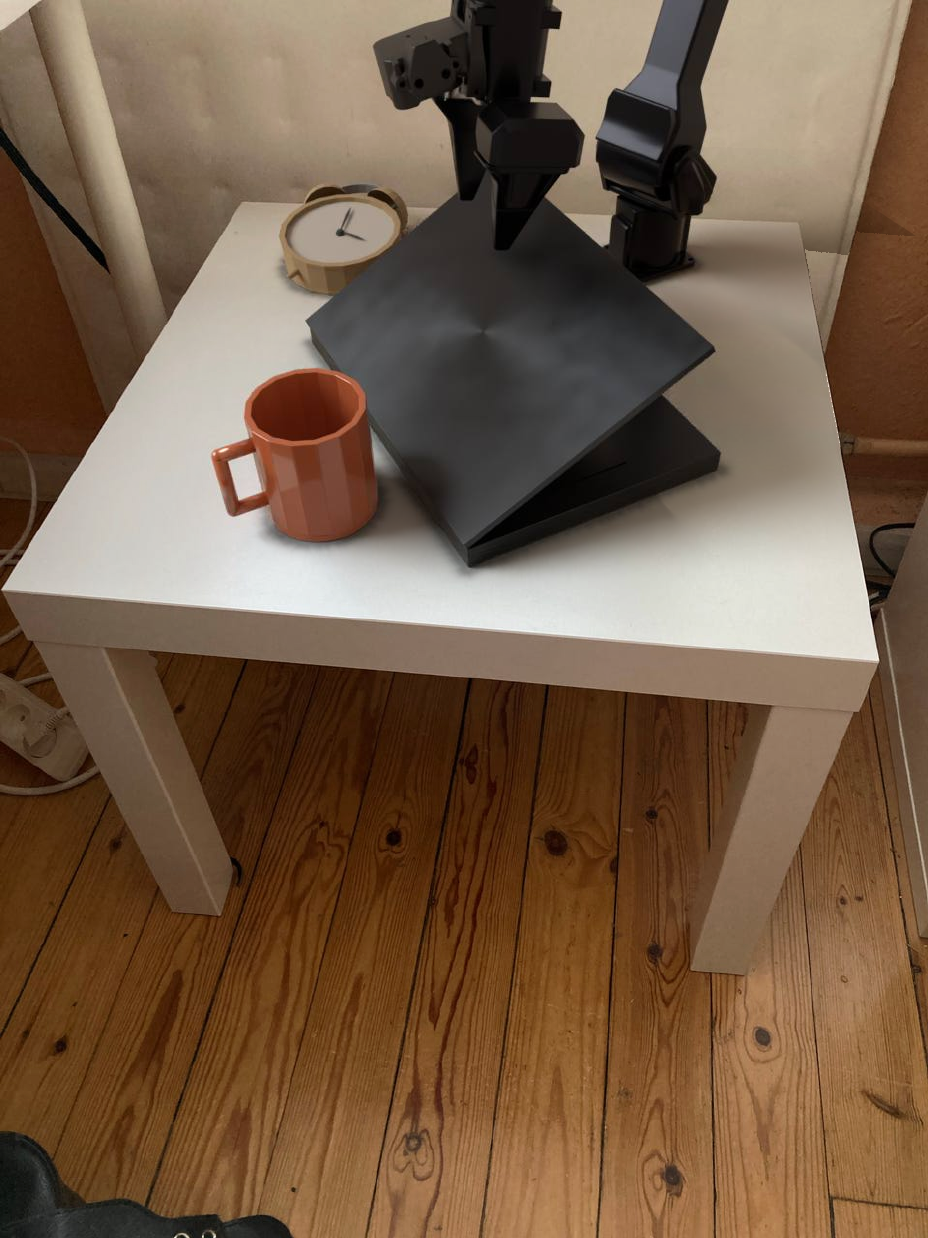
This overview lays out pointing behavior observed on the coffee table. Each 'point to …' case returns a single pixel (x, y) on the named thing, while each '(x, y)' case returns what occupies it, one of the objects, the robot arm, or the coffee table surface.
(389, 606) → the coffee table surface
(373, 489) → the mug
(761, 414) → the coffee table surface
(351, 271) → the alarm clock
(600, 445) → the laptop
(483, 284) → the laptop screen
